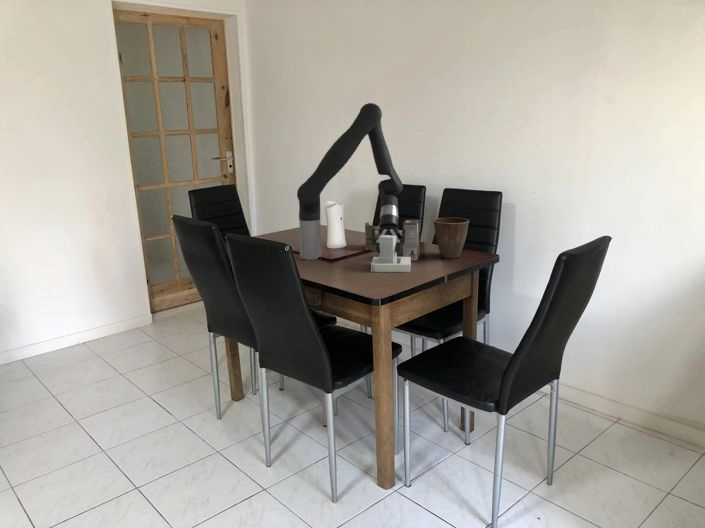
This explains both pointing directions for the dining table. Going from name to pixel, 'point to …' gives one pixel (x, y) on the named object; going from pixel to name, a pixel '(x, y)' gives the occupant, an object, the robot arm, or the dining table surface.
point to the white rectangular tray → (391, 265)
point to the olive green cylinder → (370, 236)
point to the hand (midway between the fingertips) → (387, 252)
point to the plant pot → (451, 235)
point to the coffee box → (411, 239)
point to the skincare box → (387, 249)
